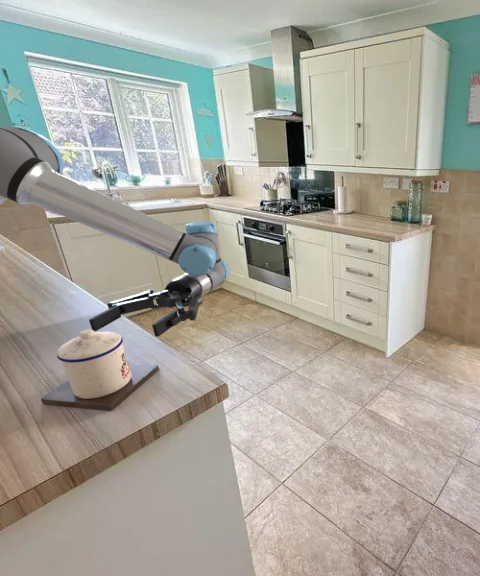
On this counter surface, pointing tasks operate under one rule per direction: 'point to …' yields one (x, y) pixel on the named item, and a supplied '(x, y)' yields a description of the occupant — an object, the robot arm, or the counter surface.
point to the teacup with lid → (95, 363)
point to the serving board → (108, 402)
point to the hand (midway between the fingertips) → (123, 328)
